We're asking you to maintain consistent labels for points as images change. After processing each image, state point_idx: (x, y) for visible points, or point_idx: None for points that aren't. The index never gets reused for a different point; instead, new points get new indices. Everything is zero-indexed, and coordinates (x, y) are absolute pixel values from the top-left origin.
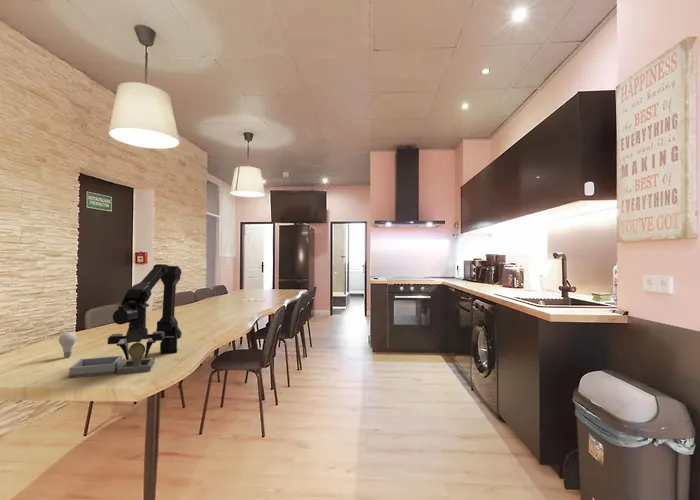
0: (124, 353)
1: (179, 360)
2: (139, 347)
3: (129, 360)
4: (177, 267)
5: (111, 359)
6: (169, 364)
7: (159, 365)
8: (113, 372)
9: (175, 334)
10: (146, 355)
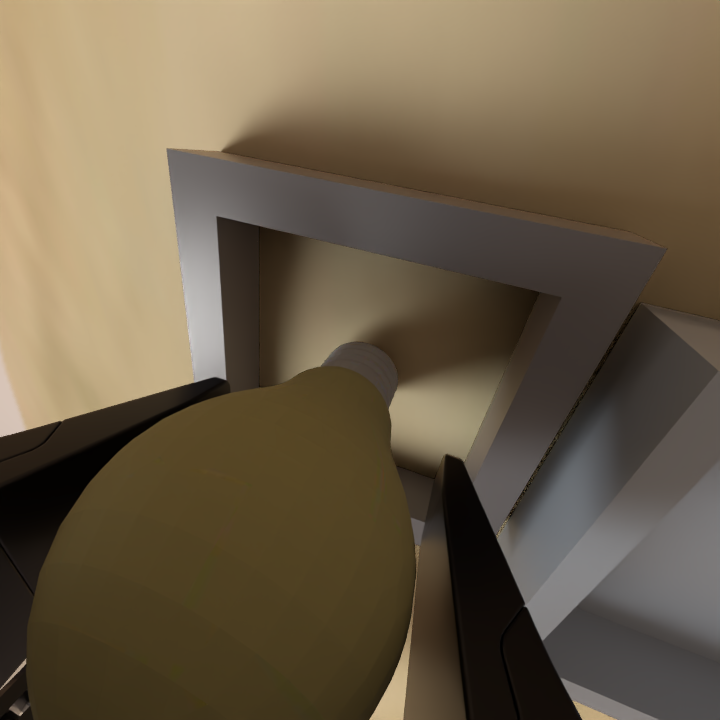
0: (510, 580)
1: (72, 373)
2: (89, 535)
3: (420, 537)
4: None
5: (596, 660)
6: (105, 306)
7: (178, 327)
8: (664, 313)
9: (4, 697)
10: (175, 393)
